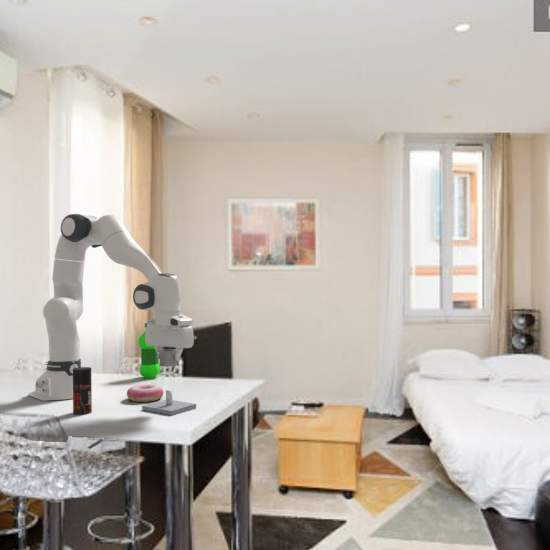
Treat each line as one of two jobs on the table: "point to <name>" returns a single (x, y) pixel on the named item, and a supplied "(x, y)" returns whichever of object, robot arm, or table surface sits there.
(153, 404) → the shaft block
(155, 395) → the donut
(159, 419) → the table surface
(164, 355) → the ring
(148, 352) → the plastic bottle
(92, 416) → the table surface
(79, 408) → the deodorant
